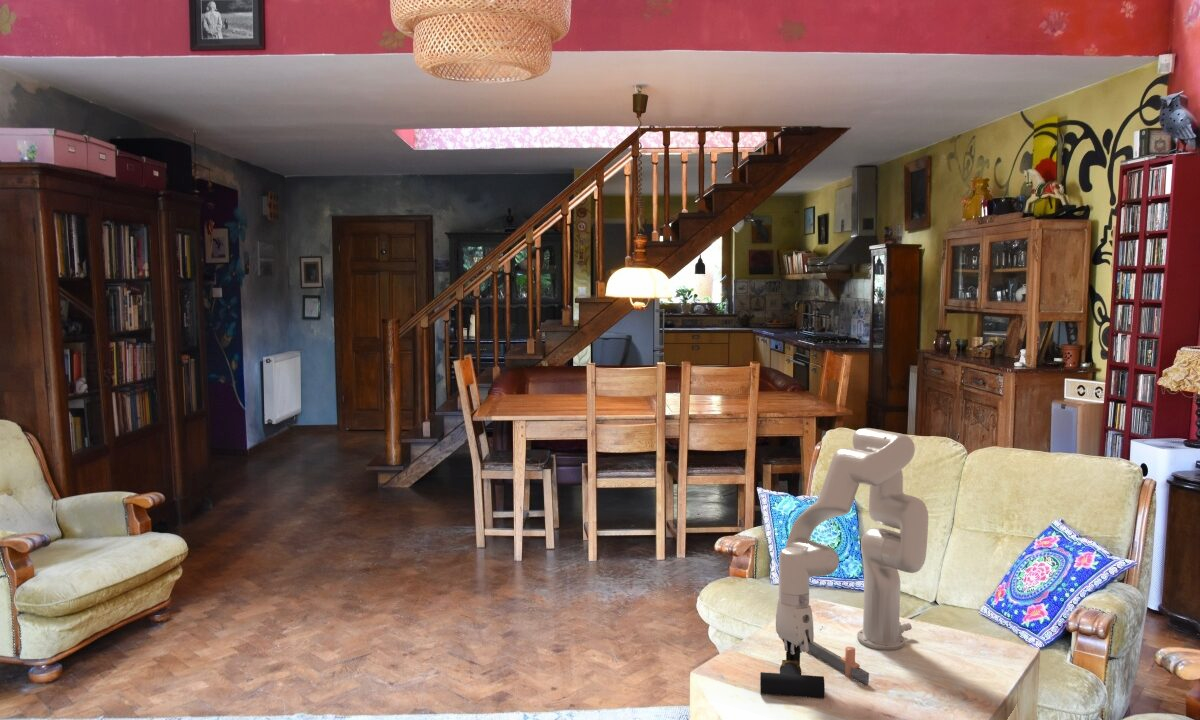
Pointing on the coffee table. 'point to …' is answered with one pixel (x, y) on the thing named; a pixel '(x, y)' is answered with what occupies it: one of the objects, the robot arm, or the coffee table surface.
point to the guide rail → (841, 662)
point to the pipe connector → (792, 682)
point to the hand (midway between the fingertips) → (792, 666)
